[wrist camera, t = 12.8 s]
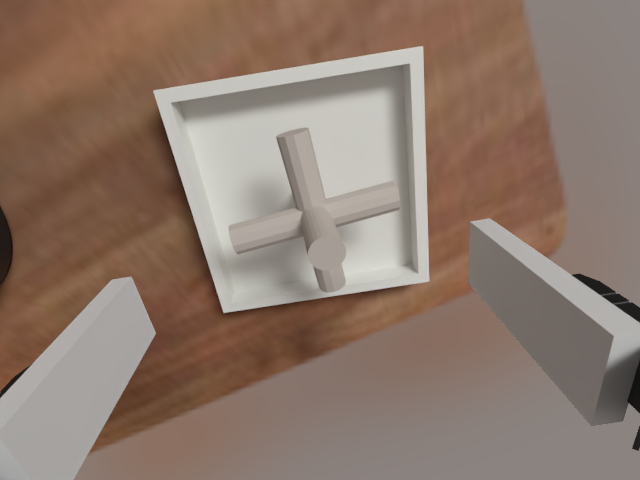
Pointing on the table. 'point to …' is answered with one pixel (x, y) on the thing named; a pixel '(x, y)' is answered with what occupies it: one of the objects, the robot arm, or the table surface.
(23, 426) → the robot arm
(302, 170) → the pipe connector
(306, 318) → the table surface
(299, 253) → the tray
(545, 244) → the table surface
